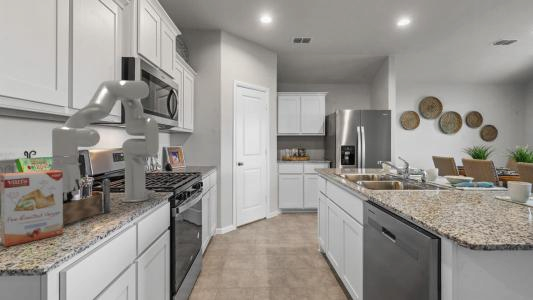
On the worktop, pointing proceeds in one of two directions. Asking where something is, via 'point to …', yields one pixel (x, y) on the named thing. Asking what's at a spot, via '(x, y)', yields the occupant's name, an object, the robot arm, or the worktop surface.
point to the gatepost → (106, 196)
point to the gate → (82, 208)
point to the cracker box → (31, 206)
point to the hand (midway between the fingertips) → (65, 210)
